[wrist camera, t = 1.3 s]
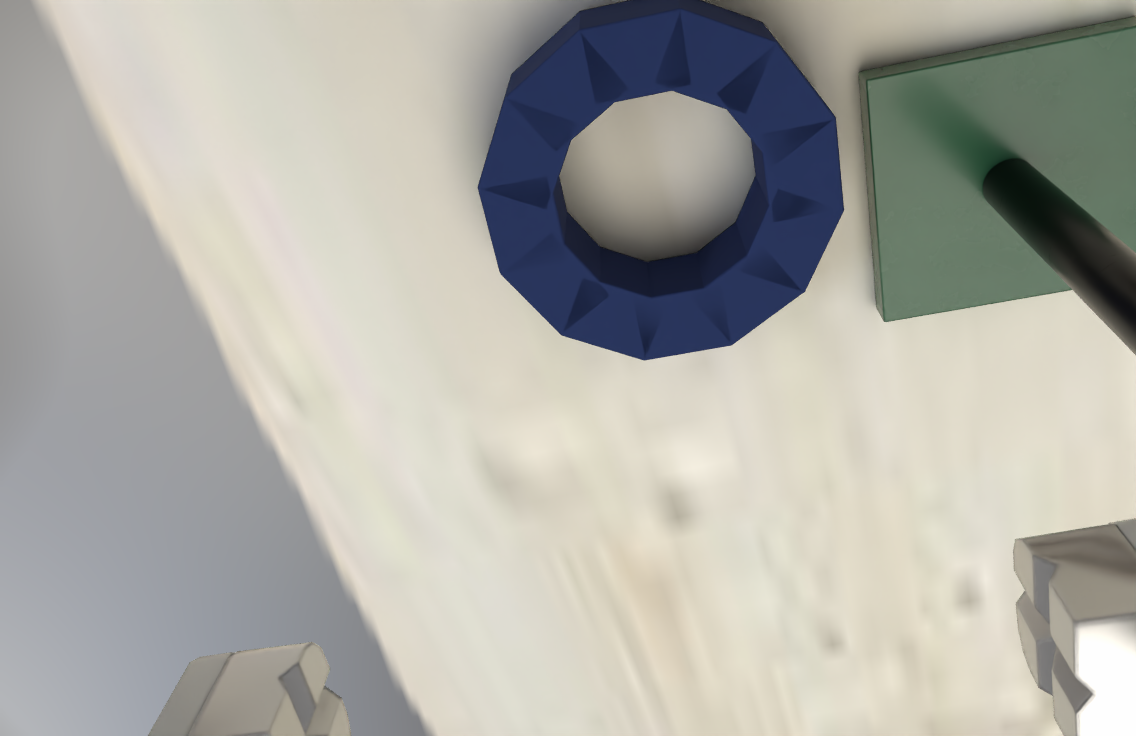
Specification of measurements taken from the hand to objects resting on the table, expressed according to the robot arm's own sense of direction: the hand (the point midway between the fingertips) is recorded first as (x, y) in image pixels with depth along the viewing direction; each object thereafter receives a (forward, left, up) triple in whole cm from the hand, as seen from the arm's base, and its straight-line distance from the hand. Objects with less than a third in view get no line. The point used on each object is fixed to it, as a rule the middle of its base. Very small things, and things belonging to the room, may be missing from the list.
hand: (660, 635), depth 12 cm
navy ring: (+3, +1, -27) cm, 27 cm away
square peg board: (+6, +12, -27) cm, 30 cm away
